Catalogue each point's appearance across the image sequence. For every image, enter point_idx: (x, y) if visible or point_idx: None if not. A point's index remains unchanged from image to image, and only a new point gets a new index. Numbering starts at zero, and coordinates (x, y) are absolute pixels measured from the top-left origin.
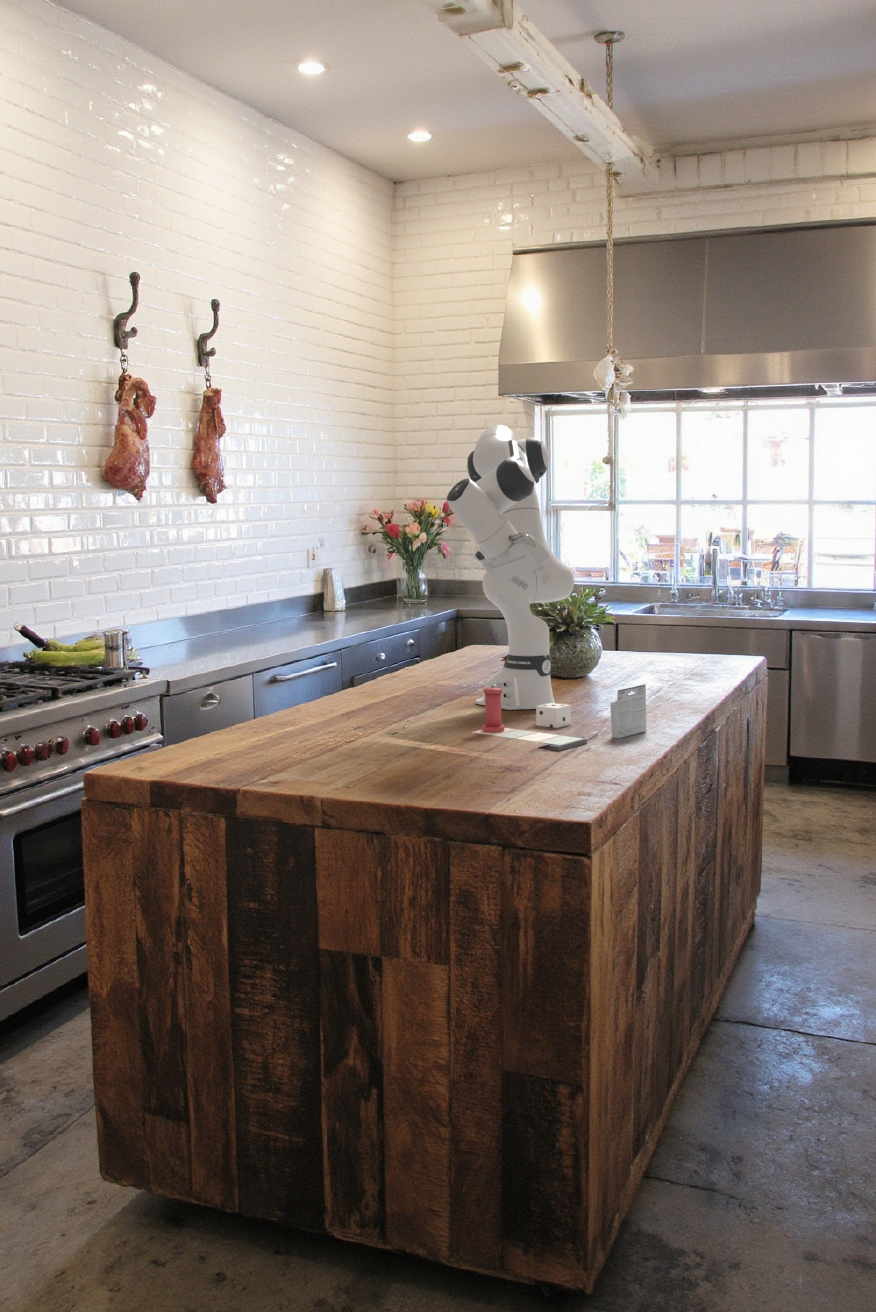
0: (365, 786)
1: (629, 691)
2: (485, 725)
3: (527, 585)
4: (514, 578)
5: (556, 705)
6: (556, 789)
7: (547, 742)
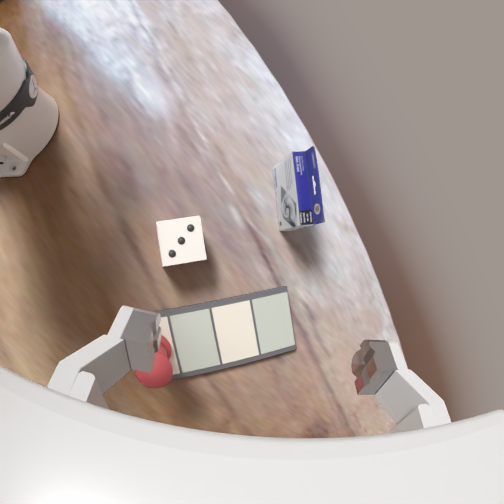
0: None
1: (317, 191)
2: None
3: (157, 320)
4: (102, 397)
5: (184, 236)
6: (383, 431)
7: (273, 347)
